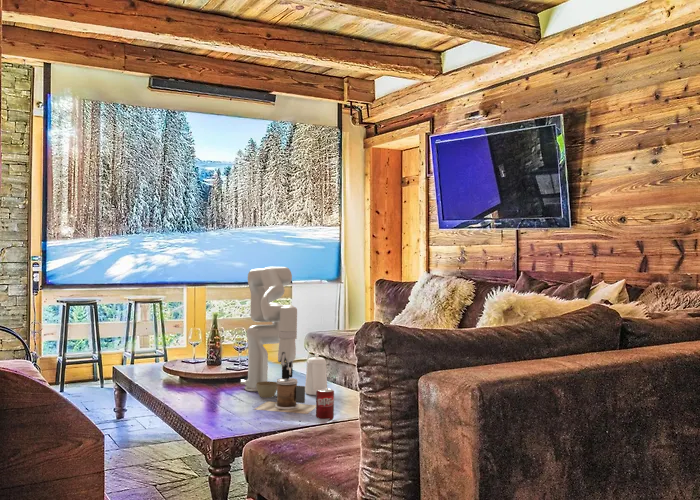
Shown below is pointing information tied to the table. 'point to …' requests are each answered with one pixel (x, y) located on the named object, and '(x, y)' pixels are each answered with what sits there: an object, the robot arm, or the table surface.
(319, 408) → the soda can
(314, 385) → the coffeepot
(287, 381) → the silver knobbed lid
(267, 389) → the flower pot
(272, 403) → the serving board
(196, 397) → the table surface
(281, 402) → the mug
